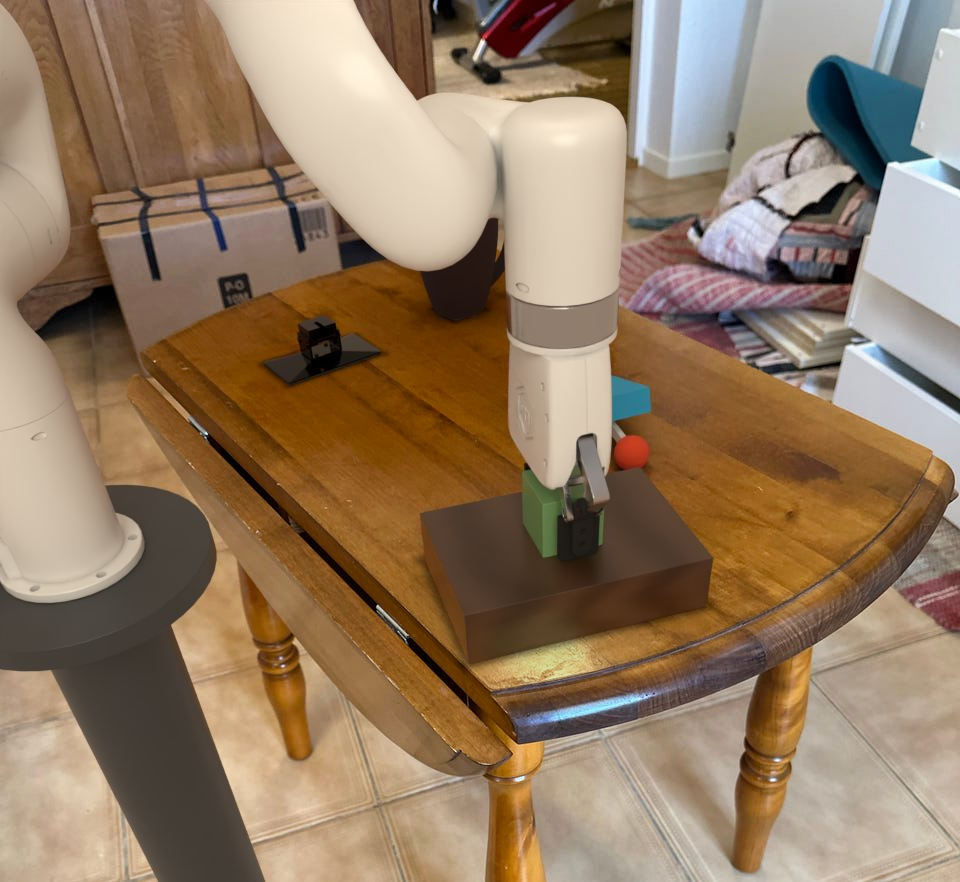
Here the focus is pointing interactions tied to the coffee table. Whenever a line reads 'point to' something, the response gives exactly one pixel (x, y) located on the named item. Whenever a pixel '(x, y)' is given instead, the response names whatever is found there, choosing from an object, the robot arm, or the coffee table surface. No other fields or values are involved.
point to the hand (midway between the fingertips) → (560, 526)
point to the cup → (467, 278)
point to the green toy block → (546, 511)
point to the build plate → (320, 351)
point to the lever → (627, 404)
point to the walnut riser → (562, 571)
